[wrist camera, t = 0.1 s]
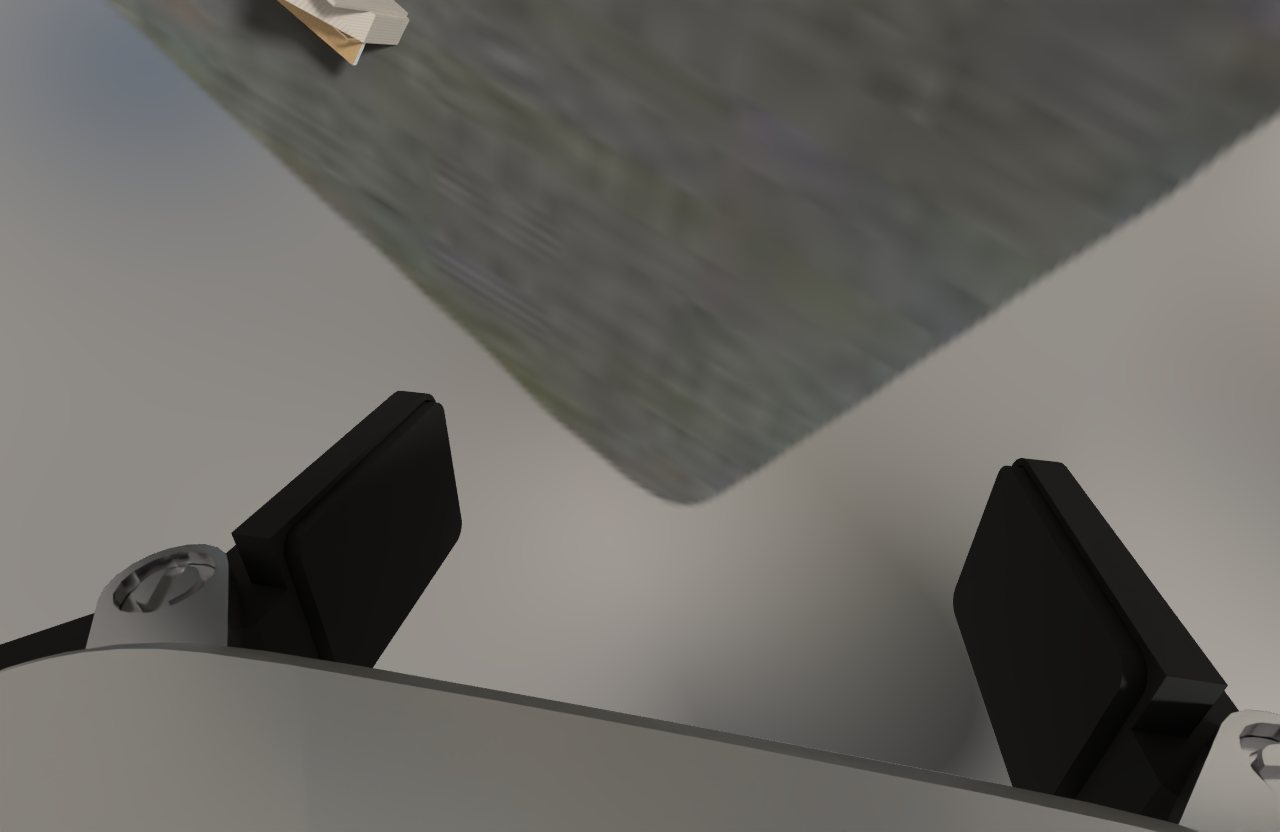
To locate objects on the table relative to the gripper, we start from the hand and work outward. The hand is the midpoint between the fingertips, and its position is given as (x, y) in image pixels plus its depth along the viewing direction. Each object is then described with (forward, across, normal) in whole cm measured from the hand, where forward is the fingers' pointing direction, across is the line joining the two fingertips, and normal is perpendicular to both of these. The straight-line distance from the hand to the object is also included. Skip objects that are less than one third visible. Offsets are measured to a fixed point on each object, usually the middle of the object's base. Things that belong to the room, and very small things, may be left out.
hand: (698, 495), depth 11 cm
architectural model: (+32, +24, -10) cm, 41 cm away
